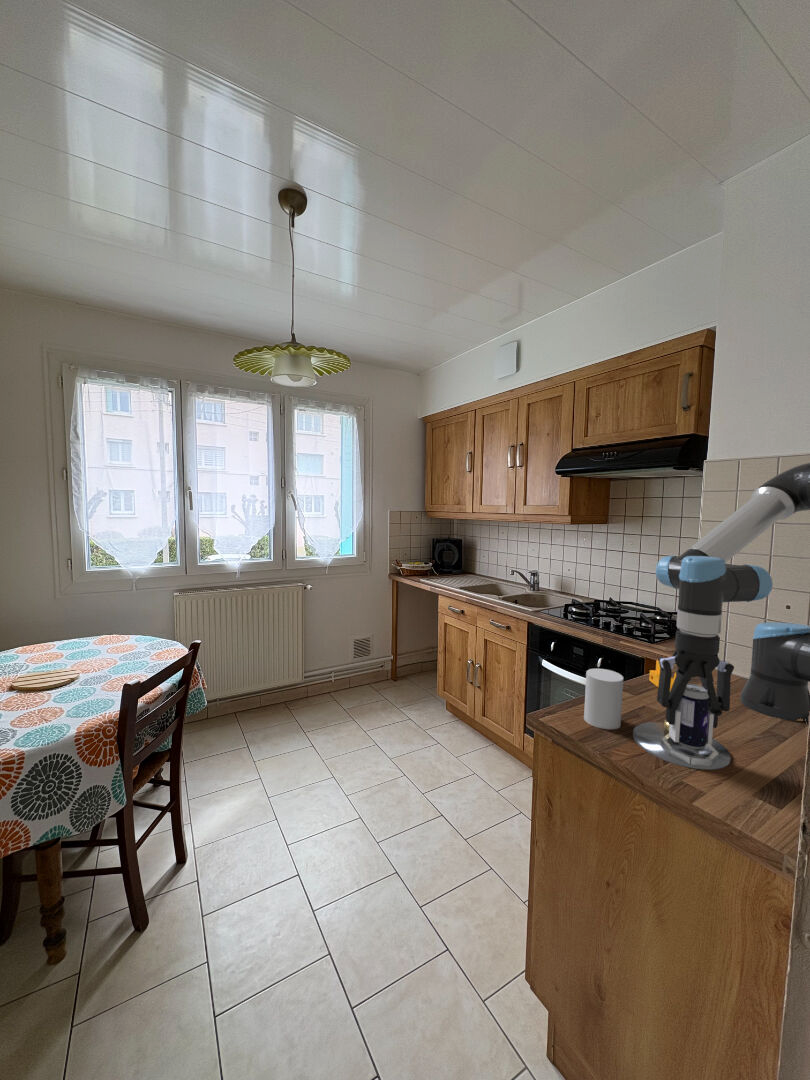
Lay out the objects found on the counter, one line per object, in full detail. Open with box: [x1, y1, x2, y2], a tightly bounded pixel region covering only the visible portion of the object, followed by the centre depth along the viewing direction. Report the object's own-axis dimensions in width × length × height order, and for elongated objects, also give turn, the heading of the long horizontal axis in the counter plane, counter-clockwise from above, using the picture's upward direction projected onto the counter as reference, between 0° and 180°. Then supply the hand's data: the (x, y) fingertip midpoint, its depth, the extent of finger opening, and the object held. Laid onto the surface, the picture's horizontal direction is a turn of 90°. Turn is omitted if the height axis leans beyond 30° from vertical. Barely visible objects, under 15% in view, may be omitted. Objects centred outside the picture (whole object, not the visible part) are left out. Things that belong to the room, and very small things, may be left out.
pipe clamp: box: [648, 659, 676, 690], centre depth 128 cm, size 12×4×6 cm, turn 177°
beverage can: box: [677, 682, 710, 749], centre depth 91 cm, size 6×6×12 cm
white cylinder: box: [583, 668, 624, 730], centre depth 106 cm, size 8×8×12 cm
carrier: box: [632, 718, 732, 771], centre depth 96 cm, size 18×18×4 cm
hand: (689, 739), depth 92 cm, fingers closed on beverage can, 6 cm apart
